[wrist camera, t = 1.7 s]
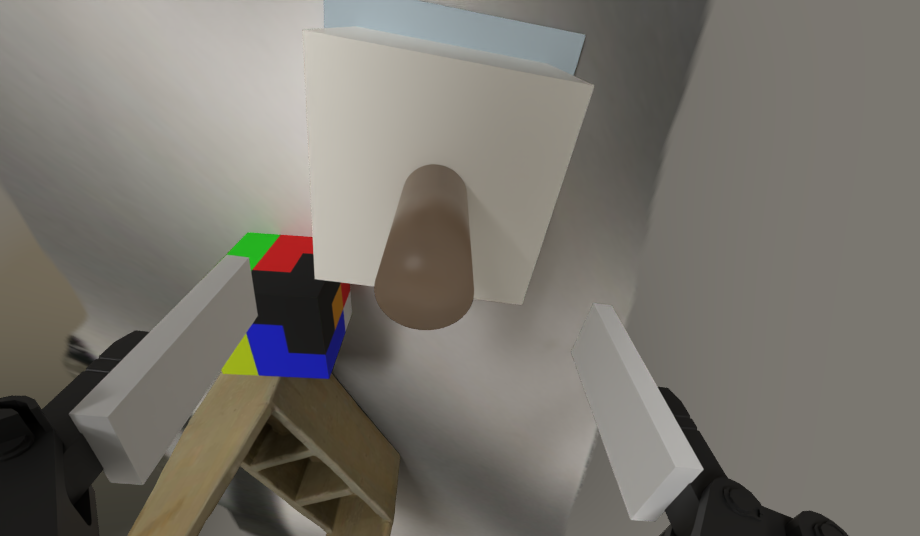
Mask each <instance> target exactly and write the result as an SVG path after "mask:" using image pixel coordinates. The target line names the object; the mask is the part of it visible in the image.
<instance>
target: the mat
mask: <svg viewBox="0 0 920 536" xmlns="http://www.w3.org/2000/svg"><path fill="white" fill-rule="evenodd" d="M353 26H357V27H362V28H368V29H373V30H378V31H383V32H388V33H393V34H398V35H404V36H409V37H414V38H419V39H424V40H429V41H434V42H439V43H445V44H450V45H455V46H460V47H465V48H470V49H475V50H481V51H486V52H491V53H496V54H501V55H506V56H511V57H516V58H522V59H527V60H532V61H537V62H542V63H547V64H549V65H551V66H554V67H556V68H558V69H560V70H562V71H564V72H567V73H569V74H571V75H573V76H574V73H575V69H576V66H577V63H578V59H579V56H580V53H581V49H582V46H583V43H584V39H585V36H586V35H584V34H579V33H574V32H569V31H565V30H560V29H555V28H550V27H545V26H540V25H535V24H530V23H526V22H521V21H516V20H511V19H506V18H501V17H496V16H491V15H487V14H482V13H477V12H472V11H467V10H462V9H457V8H452V7H448V6H443V5H438V4H433V3H428V2H423V1H418V0H324V28H337V27H353Z"/></svg>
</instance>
